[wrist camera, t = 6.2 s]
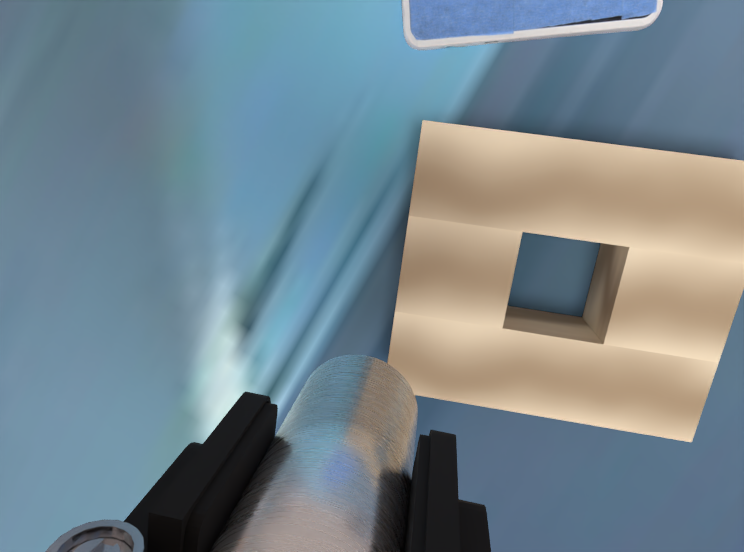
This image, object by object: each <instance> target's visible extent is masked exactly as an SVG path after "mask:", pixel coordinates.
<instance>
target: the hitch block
mask: <svg viewBox="0 0 744 552" xmlns="http://www.w3.org/2000/svg"><path fill="white" fill-rule="evenodd" d="M522 232H527V233H534V234H541V235H548V236H555V237H562V238H569V239H576V240H583V241H590V242H597V243H601V245H600V249H599V253H598V257H597V260H596V264H595V268H594V272H593V276H592V280H591V284H590V288H589V292H588V296H587V300H586V304H585V308H584V312H583V316H582V317H577V316H571V315H564V314H558V313H551V312H545V311H538V310H532V309H525V308H519V307H512V306H507V304H508V299H509V295H510V290H511V285H512V280H513V275H514V270H515V266H516V261H517V256H518V251H519V246H520V242H521V237H522ZM743 289H744V161H741V160H733V159H725V158H717V157H709V156H702V155H694V154H686V153H678V152H670V151H662V150H654V149H646V148H639V147H631V146H623V145H615V144H607V143H599V142H591V141H583V140H575V139H568V138H560V137H552V136H544V135H536V134H528V133H520V132H512V131H505V130H497V129H489V128H481V127H473V126H465V125H457V124H449V123H441V122H434V121H426V120H423V121H422V128H421V134H420V141H419V148H418V155H417V162H416V169H415V176H414V183H413V190H412V197H411V204H410V211H409V218H408V224H407V231H406V238H405V245H404V252H403V259H402V266H401V273H400V280H399V287H398V294H397V301H396V308H395V315H394V321H393V328H392V335H391V342H390V349H389V356H388V363H387V364H389V365H391V366H392V367H393V368H395V369H396V370H397V371H398V372H399V373H400V374H402V376H403V377H404V378H405V379H406V380H407V382H408V383H409V385H410V386H411V388H412V391H413V393H414V395H419V396H425V397H430V398H436V399H442V400H448V401H454V402H460V403H465V404H471V405H477V406H483V407H489V408H495V409H500V410H506V411H512V412H518V413H524V414H530V415H535V416H541V417H547V418H553V419H559V420H565V421H570V422H576V423H582V424H588V425H594V426H599V427H605V428H611V429H617V430H623V431H629V432H634V433H640V434H646V435H652V436H658V437H664V438H669V439H675V440H681V441H687V442H692V440H693V437H694V434H695V431H696V428H697V425H698V422H699V419H700V416H701V413H702V410H703V407H704V404H705V401H706V398H707V395H708V392H709V389H710V387H711V384H712V381H713V378H714V375H715V372H716V369H717V366H718V363H719V360H720V357H721V354H722V351H723V348H724V345H725V342H726V339H727V336H728V333H729V330H730V327H731V324H732V321H733V318H734V316H735V313H736V310H737V307H738V304H739V301H740V298H741V295H742V292H743Z"/></svg>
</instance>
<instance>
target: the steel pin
mask: <svg viewBox="0 0 744 552" xmlns="http://www.w3.org/2000/svg"><path fill="white" fill-rule="evenodd" d="M417 415H418V412H417V402H416V398H415V395H414V393H413V391H412V388H411V386H410V385H409V383H408V382H407V380H406V379H405V378H404V377H403V376H402V374H400V373H399V372H398V371H397V370H396V369H395V368H393V367H392V366H391V365H389V364H387V363H385V362H383V361H381V360H379V359H376V358H373V357H369V356H364V355H345V356H340V357H336V358H334V359H331V360H329V361H327V362H325V363H323V364H322V365H321V366H319V367H318V368H317V369H316V370H315V371H314V372H313V373H312V374H311V376H310V377H309V378H308V380H307V382H306V383H305V385H304V387H303V389H302V390H301V392H300V394H299V396H298V397H297V399H296V401H295V403H294V404H293V406H292V408H291V410H290V411H289V413H288V415H287V417H286V418H285V420H284V422H283V424H282V425H281V427H280V429H279V431H278V432H277V434H276V436H275V438H274V439H273V441H272V443H271V445H270V446H269V448H268V450H267V452H266V453H265V455H264V457H263V459H262V460H261V462H260V464H259V466H258V467H257V469H256V471H255V473H254V474H253V476H252V478H251V480H250V481H249V483H248V485H247V487H246V488H245V490H244V492H243V494H242V495H241V497H240V499H239V501H238V502H237V504H236V506H235V508H234V509H233V511H232V513H231V515H230V516H229V518H228V520H227V522H226V523H225V525H224V527H223V529H222V530H221V532H220V534H219V536H218V537H217V539H216V541H215V543H214V544H213V546H212V548H211V550H210V551H209V552H404V545H405V535H406V525H407V514H408V504H409V494H410V484H411V477H412V467H413V457H414V446H415V436H416V426H417Z"/></svg>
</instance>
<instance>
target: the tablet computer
mask: <svg viewBox="0 0 744 552" xmlns="http://www.w3.org/2000/svg"><path fill="white" fill-rule="evenodd" d="M662 4H663V0H402V15H403V32H404V37H405V40H406V42H407V44H408V45H409V46H410V47H411V48H413V49H416V50H434V49H442V48H446V47H449V46H453V47H464V46H474V45H484V44H492V43H503V42H514V41H525V40H535V39H546V38H556V37H567V36H577V35H588V34H600V33H612V32H622V31H636V30H641V29H644V28H646V27H648V26H650V25H651V24H652V23H653V22H654V21H655V20H656V19H657V17H658V15H659V14H660V11H661V9H662Z"/></svg>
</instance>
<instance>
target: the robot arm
mask: <svg viewBox="0 0 744 552" xmlns="http://www.w3.org/2000/svg"><path fill="white" fill-rule="evenodd" d="M277 409H278V408H277V405H276V404H271V401H270V397H269V396H264V395H260V394H255V393H250V392H244V393H243V394H242V396H241V397H240V398H239V399H238V401H237V402H236V403H235V404H234V406H233V407H232V408H231V409H230V411H229V412H228V413H227V414H226V416H225V417H224V418H223V419H222V421H221V422H220V423H219V424H218V426H217V427H216V428H215V430H214V431H213V432H212V433H211V435H210V436H209V437H208V438H207V440H206V441H205V442H204V443H203V444H200V443H195V442H193V443H190V444H189V445H188V446H187V447H186V448H185V449H184V450H183V452H182V453H181V454H180V455H179V456H178V458H177V459H176V460H175V461H174V462H173V464H172V465H171V466H170V467H169V468H168V469H167V471H166V472H165V473H164V474H163V475H162V477H161V478H160V479H159V480H158V481H157V483H156V484H155V485H154V486H153V487H152V488H151V490H150V491H149V492H148V493H147V494H146V496H145V497H144V498H143V499H142V500H141V502H140V503H139V504H138V505H137V506H136V508H135V509H134V510H133V511H132V512H131V513H130V515H129V516H128V517H127V518H126V519H125V521H124V522H123V521H119V520H99V521H93V522H88V523H85V524H83V525H80V526H78V527H75V528H73V529H71V530H70V531H68V532H66V533H65V534H63V535H61V536H60V537H59V538H58V539H57V540H56V541H55V542H54V543H53V544H52V545H51V546H50V547H49V548H48V549H47V550H46V552H209V551H210V550H211V548H212V546H213V544H214V543H215V541H216V539H217V537H218V536H219V534H220V532H221V530H222V529H223V527H224V525H225V523H226V522H227V520H228V518H229V516H230V515H231V513H232V511H233V509H234V508H235V506H236V504H237V502H238V501H239V499H240V497H241V495H242V494H243V492H244V490H245V488H246V487H247V485H248V483H249V481H250V480H251V478H252V476H253V474H254V473H255V471H256V469H257V467H258V466H259V464H260V462H261V460H262V459H263V457H264V455H265V453H266V452H267V450H268V448H269V446H270V445H271V443H272V441H273V439H274V437H275V428H276V419H277ZM404 552H491V548H490V539H489V530H488V521H487V512H486V507H485V506H484V505H482V504H477V503H472V502H468V501H463V500H459V499H458V477H457V450H456V435H454V434H449V433H445V432H440V431H435V430H431V431H430V434H429V436H426V435H421V434H420V437H419V442H418V447H417V452H416V457H415V462H414V467H413V472H412V477H411V484H410V494H409V504H408V514H407V525H406V535H405V545H404Z"/></svg>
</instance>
